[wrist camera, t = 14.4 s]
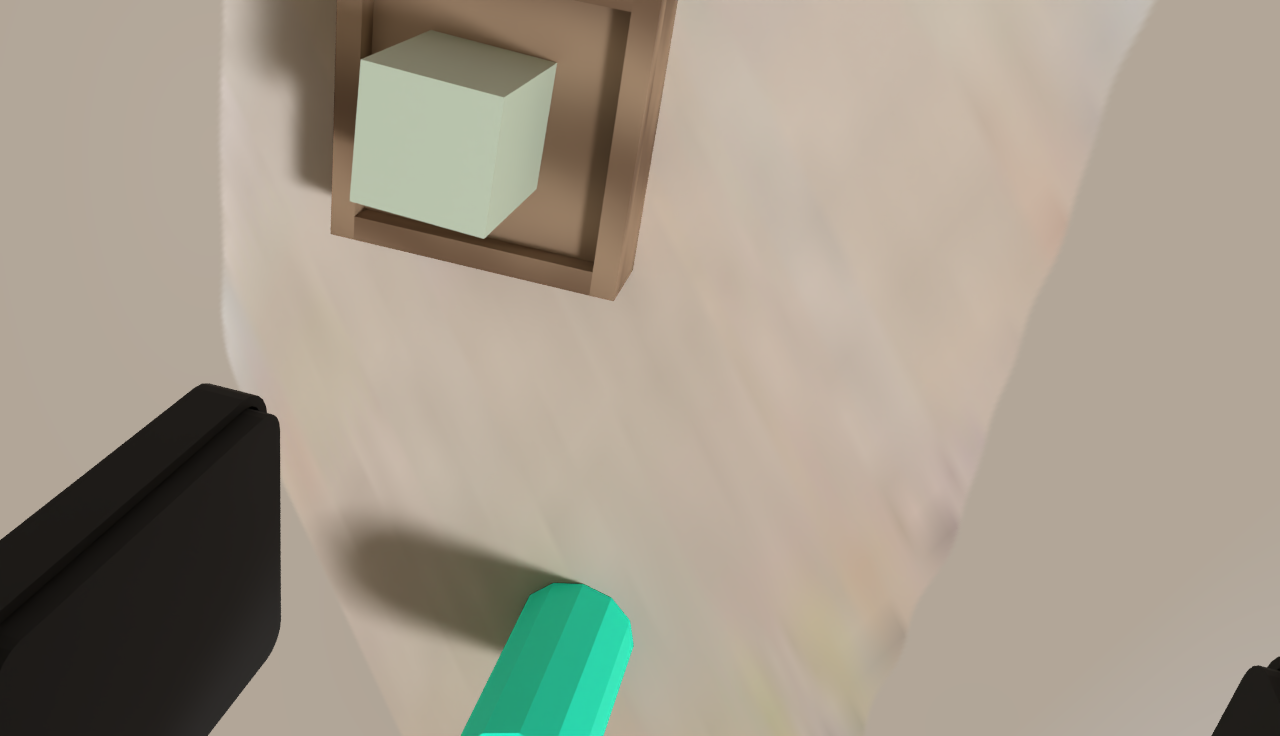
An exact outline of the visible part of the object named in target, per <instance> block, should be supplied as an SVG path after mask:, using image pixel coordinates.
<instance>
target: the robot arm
mask: <svg viewBox="0 0 1280 736" xmlns="http://www.w3.org/2000/svg"><path fill="white" fill-rule="evenodd" d="M280 562H281V560H280V426H279V421H278V419H277V417H276V416H274V415H272V414H268V413H267V410H266V406H265V403H264V401H263V399H261V398H260V397H259V396H256V395H252V394H248V393H244V392H240V391H237V390H233V389H229V388H225V387H221V386H217V385H213V384H201V385H199V386H197V387H195V388H194V389H192V390H191V391H190V392H189V393H187V394H186V395H185V396H183V397H182V398H181V399H180V400H178V401H177V402H176V403H175V404H173V405H172V406H171V407H170V408H168V409H167V410H166V411H164V412H163V413H162V414H161V415H159V416H158V417H157V418H155V419H154V420H153V421H152V422H150V423H149V424H148V425H146V427H144V428H143V429H142V430H140V431H139V432H138V433H136V434H135V435H134V436H133V437H131V438H130V439H129V440H127V441H126V442H125V443H124V444H122V445H121V446H120V447H118V448H117V449H116V450H115V451H114V452H112V453H111V454H110V455H108V456H107V457H106V458H105V459H103V460H102V461H101V462H99V463H98V464H97V465H95V466H94V467H93V468H92V469H91V470H89V471H88V472H87V473H85V474H84V475H83V476H82V477H80V478H79V479H78V480H77V481H75V482H74V483H73V484H71V485H70V486H69V487H67V488H66V489H65V490H64V491H62V492H61V493H60V494H58V495H57V496H56V497H55V498H53V499H52V500H51V501H50V502H48V503H47V504H46V505H45V506H43V507H42V508H41V509H39V510H38V511H37V512H36V513H34V514H33V515H32V516H30V517H29V518H28V519H27V520H25V521H24V522H23V523H22V524H21V525H19V526H18V527H17V528H15V529H14V530H13V531H11V532H10V533H9V534H7V535H6V536H5V537H4V538H2V539H1V540H0V736H208V734H209V733H210V732H211V731H212V729H213V728H214V727H215V725H216V724H217V723H218V721H219V720H220V719H221V717H222V716H223V715H224V714H225V713H226V711H227V710H228V709H229V707H230V706H231V705H232V704H233V702H234V701H235V700H236V698H237V697H238V696H239V694H240V693H241V692H242V690H243V689H244V688H245V687H246V685H247V684H248V683H249V681H250V680H251V679H252V677H253V676H254V675H255V674H256V672H257V671H258V670H259V669H260V667H261V666H262V665H263V663H264V662H265V661H266V660H267V658H268V656H269V655H270V653H271V652H272V649H273V647H274V645H275V643H276V640H277V637H278V634H279V630H280V622H281V576H280V575H281V574H280V573H281V572H280V571H281V569H280V568H281V565H280ZM1212 736H1280V657H1277V658H1276V659H1275V660H1273V661H1272V662H1271V663H1270V664H1269V666H1268V667H1267V668H1266V667H1262V666H1253V667H1252V668H1250V669H1249V670H1248V671H1247V672H1246V674H1245V675H1244V677H1243V678H1242V680H1241V682H1240V684H1239V686H1238V688H1237V690H1236V691H1235V693H1234V695H1233V697H1232V699H1231V701H1230V702H1229V704H1228V707H1227V708H1226V710H1225V712H1224V714H1223V715H1222V717H1221V719H1220V721H1219V723H1218V725H1217V727H1216V728H1215V730H1214V732H1213V734H1212Z"/></svg>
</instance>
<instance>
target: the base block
mask: <svg viewBox="0 0 1280 736" xmlns="http://www.w3.org/2000/svg"><path fill="white" fill-rule="evenodd" d="M677 2H678V0H337V18H336V55H335V92H334V129H333V166H332V204H331V234H333V235H337V236H341V237H346V238H350V239H354V240H358V241H362V242H367V243H371V244H375V245H379V246H384V247H388V248H392V249H396V250H400V251H405V252H409V253H413V254H417V255H421V256H426V257H430V258H434V259H438V260H442V261H447V262H451V263H455V264H459V265H463V266H468V267H472V268H476V269H480V270H484V271H489V272H493V273H497V274H501V275H506V276H510V277H514V278H518V279H522V280H527V281H531V282H535V283H539V284H543V285H548V286H552V287H556V288H560V289H564V290H569V291H573V292H577V293H581V294H585V295H590V296H594V297H598V298H602V299H606V300H611V301H614V300H615V298H616V296H617V295H618V293H619V291H620V290H621V288H622V287H623V285H624V283H625V282H626V280H627V279H628V277H629V275H630V274H631V272H632V270H633V265H634V259H635V253H636V247H637V241H638V235H639V229H640V223H641V217H642V211H643V205H644V200H645V194H646V188H647V182H648V176H649V170H650V164H651V158H652V152H653V146H654V140H655V134H656V128H657V122H658V116H659V110H660V104H661V98H662V92H663V86H664V80H665V74H666V68H667V62H668V56H669V50H670V44H671V38H672V32H673V26H674V20H675V14H676V8H677ZM430 30H433V31H437V32H441V33H445V34H448V35H452V36H456V37H460V38H464V39H468V40H472V41H476V42H479V43H483V44H487V45H491V46H495V47H499V48H502V49H506V50H510V51H514V52H518V53H522V54H525V55H529V56H533V57H537V58H541V59H545V60H548V61H552V62H556V63H557V67H556V73H555V79H554V86H553V92H552V98H551V104H550V110H549V116H548V122H547V128H546V134H545V141H544V147H543V153H542V159H541V165H540V171H539V177H538V183H537V189H536V190H535V191H534V192H533V193H532V194H531V195H530V196H529V197H528V198H527V199H525V200H524V201H523V202H522V203H521V204H520V205H519V206H518V207H517V208H516V209H515V210H514V211H513V212H512V213H511V214H510V215H509V216H508V217H507V218H506V219H504V220H503V221H502V222H501V223H500V224H499V225H498V226H497V227H496V228H495V229H494V230H493V231H492V232H491V233H490V234H489V235H488V236H487V237H486V238H484V239H483V238H479V237H475V236H472V235H468V234H465V233H461V232H458V231H454V230H450V229H447V228H443V227H440V226H436V225H433V224H429V223H426V222H422V221H418V220H415V219H411V218H408V217H404V216H401V215H397V214H393V213H390V212H386V211H383V210H379V209H376V208H372V207H369V206H365V205H361V204H358V203H354V202H351V201H350V189H351V176H352V163H353V151H354V138H355V125H356V113H357V100H358V87H359V75H360V62H361V59H363V58H365V57H368V56H370V55H372V54H375V53H377V52H380V51H382V50H384V49H387V48H389V47H391V46H394V45H396V44H399V43H401V42H403V41H406V40H408V39H411V38H413V37H415V36H418V35H420V34H423V33H425V32H427V31H430Z"/></svg>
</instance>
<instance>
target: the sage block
mask: <svg viewBox="0 0 1280 736" xmlns="http://www.w3.org/2000/svg"><path fill="white" fill-rule="evenodd" d="M556 67H557V63H556V62H552V61H548V60H545V59H541V58H537V57H533V56H529V55H525V54H522V53H518V52H514V51H510V50H506V49H502V48H499V47H495V46H491V45H487V44H483V43H479V42H476V41H472V40H468V39H464V38H460V37H456V36H452V35H448V34H445V33H441V32H437V31H433V30H430V31H427V32H425V33H423V34H420V35H418V36H415V37H413V38H411V39H408V40H406V41H403V42H401V43H399V44H396V45H394V46H391V47H389V48H387V49H384V50H382V51H380V52H377V53H375V54H372V55H370V56H368V57H365V58H363V59H361V62H360V75H359V87H358V100H357V113H356V125H355V138H354V151H353V163H352V176H351V189H350V201H351V202H354V203H358V204H361V205H365V206H369V207H372V208H376V209H379V210H383V211H386V212H390V213H393V214H397V215H401V216H404V217H408V218H411V219H415V220H418V221H422V222H426V223H429V224H433V225H436V226H440V227H443V228H447V229H450V230H454V231H458V232H461V233H465V234H468V235H472V236H475V237H479V238H483V239H484V238H486V237H487V236H488V235H489V234H490V233H491V232H492V231H493V230H494V229H495V228H496V227H497V226H498V225H499V224H500V223H501V222H502V221H503V220H504V219H506V218H507V217H508V216H509V215H510V214H511V213H512V212H513V211H514V210H515V209H516V208H517V207H518V206H519V205H520V204H521V203H522V202H523V201H524V200H525V199H527V198H528V197H529V196H530V195H531V194H532V193H533V192H534V191H535V190H536V189H537V183H538V177H539V171H540V165H541V159H542V153H543V147H544V141H545V134H546V128H547V122H548V116H549V110H550V104H551V98H552V92H553V86H554V79H555V73H556Z"/></svg>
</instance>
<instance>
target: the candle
mask: <svg viewBox="0 0 1280 736" xmlns="http://www.w3.org/2000/svg"><path fill="white" fill-rule="evenodd" d="M633 646H634V645H633V638H632V631H631V624H630V620H629V619H628V618H627V616H626V615H625V614H624V613H623V611H622V610H621V609H620V608H619V607H618V605H617V604H616V603H615V602H614V600H613V599H612V598H611V597H609V596H606V595H604V594H602V593H600V592H598V591H596V590H594V589H592V588H590V587H588V586H586V585H584V584H568V583H552V584H550V585H548V586H546V587H544V588H542V589H540V590H538V591H536V592H535V593H533V594H531V595H530V596H529V598H528V600H527V602H526V604H525V606H524V608H523V610H522V612H521V614H520V616H519V618H518V620H517V622H516V624H515V626H514V629H513V631H512V633H511V635H510V637H509V639H508V641H507V643H506V645H505V647H504V649H503V651H502V653H501V655H500V657H499V659H498V661H497V663H496V665H495V667H494V669H493V671H492V673H491V675H490V677H489V679H488V681H487V683H486V685H485V687H484V689H483V692H482V694H481V696H480V698H479V700H478V702H477V704H476V706H475V708H474V710H473V712H472V714H471V716H470V718H469V720H468V722H467V724H466V726H465V728H464V730H463V732H462V734H461V736H603V735H604V732H605V729H606V726H607V723H608V720H609V717H610V714H611V711H612V708H613V706H614V703H615V700H616V697H617V694H618V691H619V688H620V685H621V682H622V679H623V676H624V673H625V670H626V667H627V664H628V661H629V658H630V655H631V652H632V649H633Z"/></svg>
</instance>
